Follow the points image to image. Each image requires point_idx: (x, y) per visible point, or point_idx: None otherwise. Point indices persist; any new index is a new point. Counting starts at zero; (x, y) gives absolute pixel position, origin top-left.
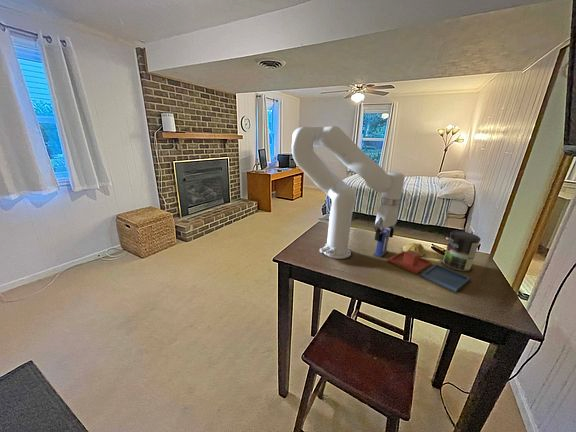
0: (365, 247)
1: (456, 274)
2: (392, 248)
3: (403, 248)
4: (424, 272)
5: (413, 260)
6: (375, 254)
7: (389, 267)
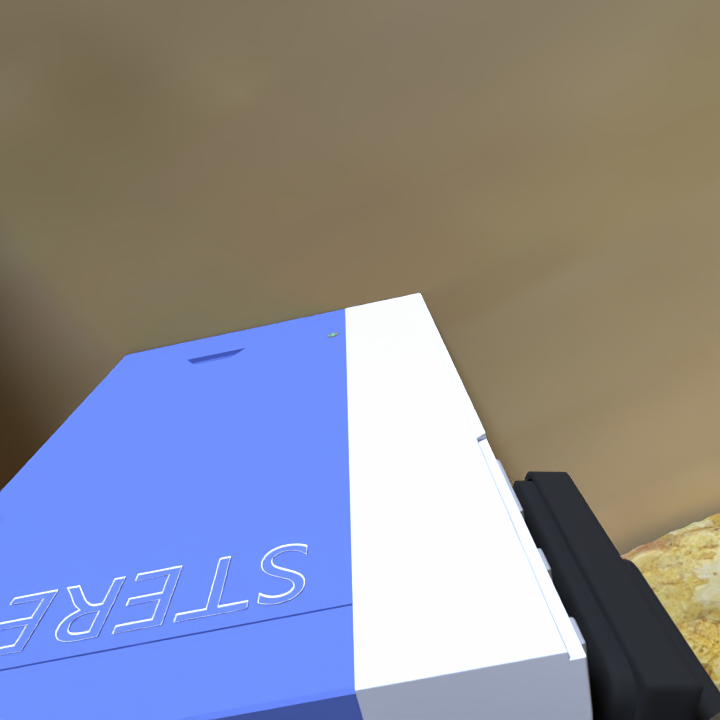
0: (241, 38)
1: None
2: (642, 382)
3: (694, 551)
4: None
5: None
6: (123, 364)
7: None
